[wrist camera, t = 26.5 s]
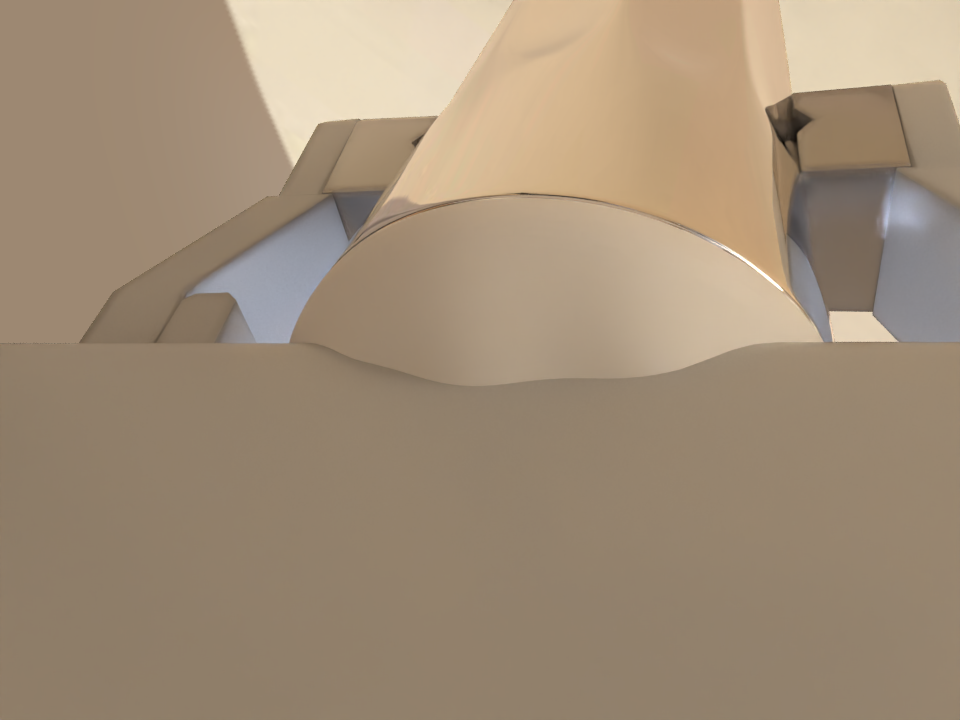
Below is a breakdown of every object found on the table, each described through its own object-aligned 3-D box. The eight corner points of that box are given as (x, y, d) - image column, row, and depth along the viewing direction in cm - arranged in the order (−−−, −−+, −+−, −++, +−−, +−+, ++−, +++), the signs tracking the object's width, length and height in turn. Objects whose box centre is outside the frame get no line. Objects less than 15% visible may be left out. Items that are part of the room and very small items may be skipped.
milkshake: (411, 54, 14) (91, 634, 8) (630, -273, 11) (373, 308, 4) (634, 213, 16) (520, 830, 9) (901, -31, 12) (1035, 716, 5)
